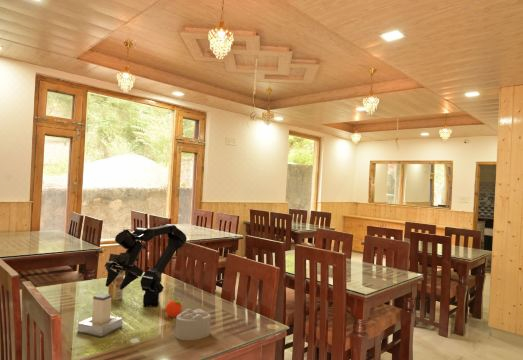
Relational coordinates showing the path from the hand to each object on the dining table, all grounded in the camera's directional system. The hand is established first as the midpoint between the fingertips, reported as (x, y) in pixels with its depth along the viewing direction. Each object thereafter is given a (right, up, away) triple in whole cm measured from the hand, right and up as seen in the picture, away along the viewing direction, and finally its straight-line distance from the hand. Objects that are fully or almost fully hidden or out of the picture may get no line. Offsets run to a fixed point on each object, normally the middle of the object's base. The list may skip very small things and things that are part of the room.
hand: (113, 287), depth 147 cm
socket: (0, -13, -11) cm, 17 cm away
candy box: (-11, -13, +27) cm, 32 cm away
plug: (0, -12, -11) cm, 17 cm away
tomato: (+24, -15, +6) cm, 29 cm away
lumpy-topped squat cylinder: (+34, -15, -11) cm, 39 cm away
